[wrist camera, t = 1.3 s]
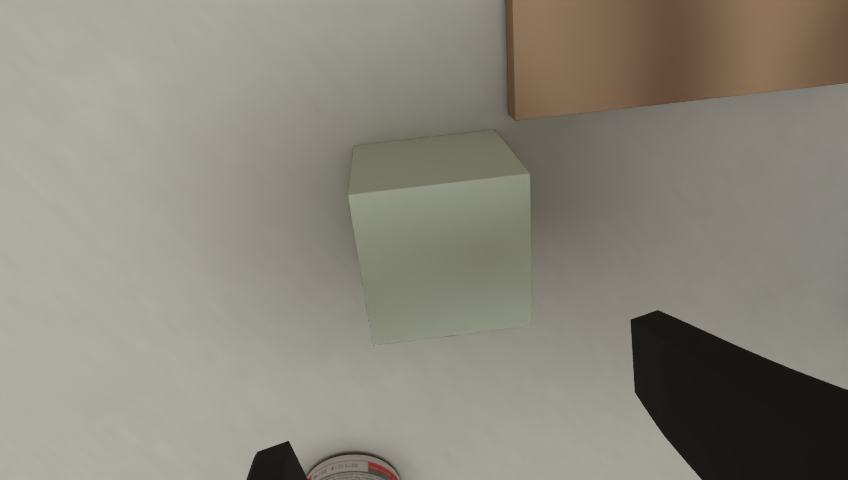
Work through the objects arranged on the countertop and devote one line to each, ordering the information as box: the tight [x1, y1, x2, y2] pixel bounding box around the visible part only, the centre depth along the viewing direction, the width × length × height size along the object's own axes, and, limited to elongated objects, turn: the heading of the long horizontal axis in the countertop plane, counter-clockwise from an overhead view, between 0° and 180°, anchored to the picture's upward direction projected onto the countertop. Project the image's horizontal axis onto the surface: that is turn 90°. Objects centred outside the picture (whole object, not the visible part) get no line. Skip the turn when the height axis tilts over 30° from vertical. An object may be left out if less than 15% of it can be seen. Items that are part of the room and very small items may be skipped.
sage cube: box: [348, 130, 532, 346], centre depth 18 cm, size 5×5×5 cm
